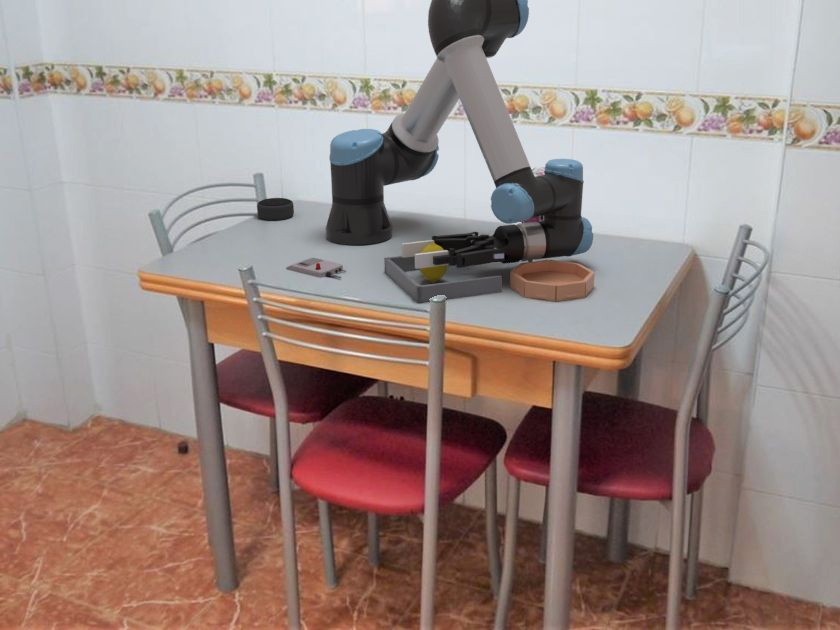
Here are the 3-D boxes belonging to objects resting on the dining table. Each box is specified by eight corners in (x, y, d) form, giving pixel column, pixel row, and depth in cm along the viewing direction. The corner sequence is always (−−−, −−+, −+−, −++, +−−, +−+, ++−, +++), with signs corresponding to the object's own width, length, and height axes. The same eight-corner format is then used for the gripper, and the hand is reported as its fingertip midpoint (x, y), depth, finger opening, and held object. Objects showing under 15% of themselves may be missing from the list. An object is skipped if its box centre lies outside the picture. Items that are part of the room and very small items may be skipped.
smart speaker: (264, 212, 234) (263, 196, 233) (298, 213, 233) (297, 197, 232) (252, 221, 226) (251, 205, 225) (288, 222, 225) (287, 206, 223)
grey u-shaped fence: (384, 272, 187) (384, 257, 186) (461, 262, 193) (461, 248, 192) (417, 302, 170) (417, 287, 169) (501, 291, 175) (501, 276, 174)
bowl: (499, 280, 182) (499, 265, 181) (567, 271, 186) (568, 256, 185) (534, 304, 169) (534, 289, 167) (606, 294, 173) (607, 279, 172)
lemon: (448, 287, 178) (448, 247, 175) (419, 287, 178) (418, 247, 175) (447, 277, 183) (447, 238, 181) (419, 278, 183) (418, 239, 181)
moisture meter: (302, 262, 196) (301, 248, 195) (358, 275, 187) (357, 261, 186) (279, 270, 191) (278, 256, 190) (336, 284, 182) (335, 269, 181)
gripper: (540, 275, 177) (427, 290, 170) (496, 247, 194) (392, 260, 187) (541, 237, 174) (426, 250, 167) (497, 213, 192) (391, 224, 184)
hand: (408, 255), depth 177 cm, fingers open, 7 cm apart
